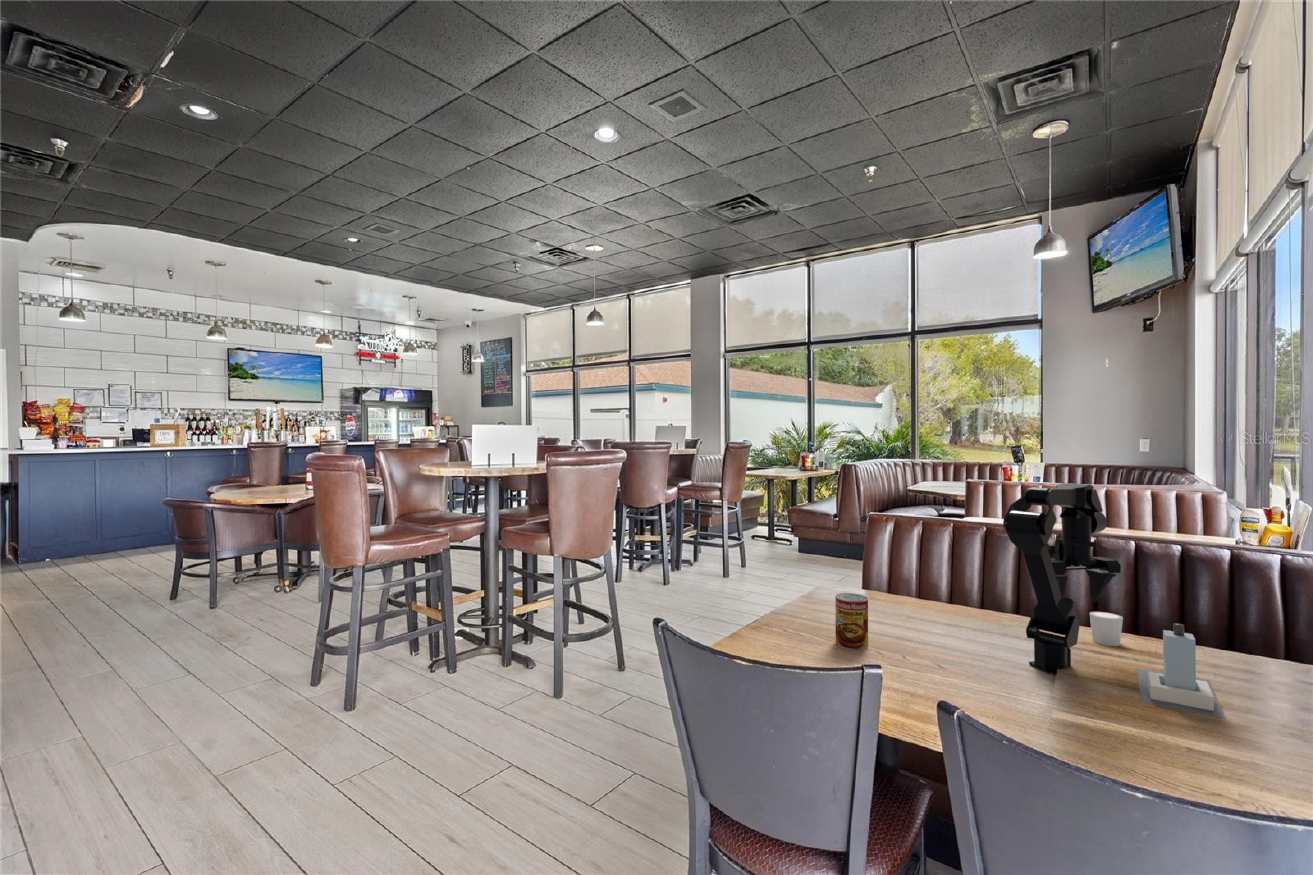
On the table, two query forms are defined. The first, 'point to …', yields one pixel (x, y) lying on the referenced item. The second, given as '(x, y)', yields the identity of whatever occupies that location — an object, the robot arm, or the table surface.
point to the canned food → (851, 621)
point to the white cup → (1106, 628)
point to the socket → (1181, 694)
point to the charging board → (1145, 698)
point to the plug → (1179, 658)
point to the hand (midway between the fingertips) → (1076, 602)
